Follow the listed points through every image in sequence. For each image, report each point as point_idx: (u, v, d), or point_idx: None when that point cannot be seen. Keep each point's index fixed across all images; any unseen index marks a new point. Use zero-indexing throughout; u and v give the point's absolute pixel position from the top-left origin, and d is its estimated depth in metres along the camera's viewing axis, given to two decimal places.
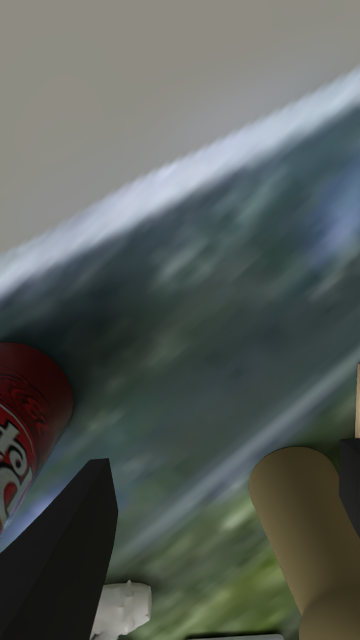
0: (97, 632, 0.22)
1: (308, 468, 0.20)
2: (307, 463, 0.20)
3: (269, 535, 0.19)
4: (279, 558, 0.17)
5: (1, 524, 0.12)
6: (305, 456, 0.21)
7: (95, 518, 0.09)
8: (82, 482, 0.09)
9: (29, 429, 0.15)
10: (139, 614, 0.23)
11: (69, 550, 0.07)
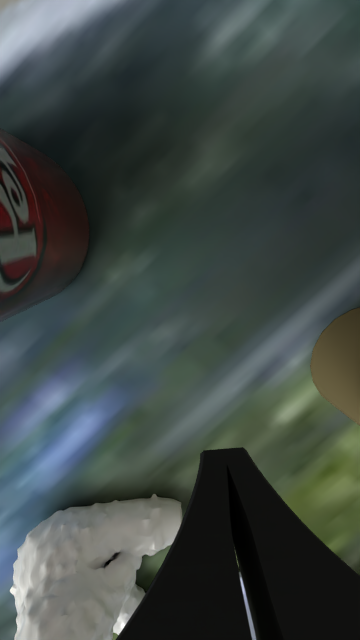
0: (117, 550, 0.17)
1: None
2: None
3: (354, 396, 0.14)
4: None
5: None
6: None
7: None
8: (214, 472, 0.09)
9: (32, 182, 0.10)
10: (169, 529, 0.18)
11: None
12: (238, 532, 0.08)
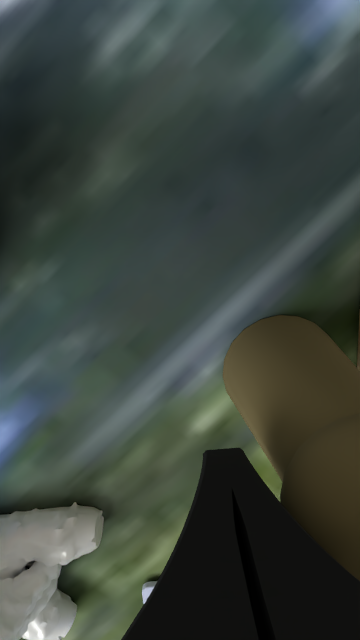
0: (27, 559, 0.17)
1: (299, 329, 0.15)
2: (297, 326, 0.15)
3: (245, 409, 0.14)
4: (257, 428, 0.12)
5: None
6: (295, 321, 0.16)
7: None
8: (218, 471, 0.09)
9: None
10: (82, 538, 0.18)
11: None
12: None
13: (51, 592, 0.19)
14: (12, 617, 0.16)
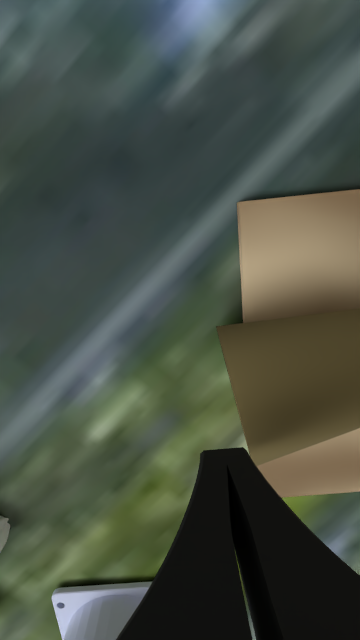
0: None
1: None
2: None
3: (343, 390, 0.11)
4: None
5: None
6: None
7: None
8: (214, 472, 0.09)
9: None
10: None
11: None
12: (238, 532, 0.08)
13: None
14: None
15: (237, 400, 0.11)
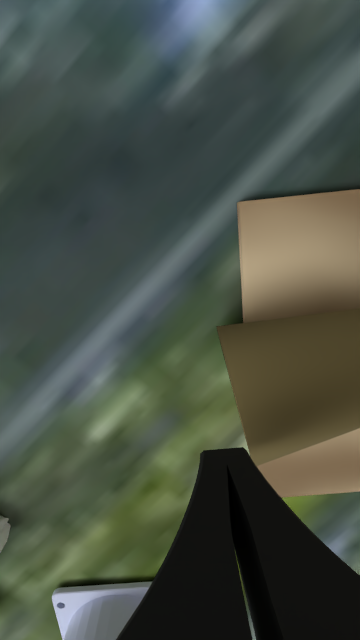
0: None
1: None
2: None
3: (343, 390, 0.11)
4: None
5: None
6: None
7: None
8: (215, 472, 0.09)
9: None
10: None
11: None
12: (238, 532, 0.08)
13: None
14: None
15: (237, 400, 0.11)
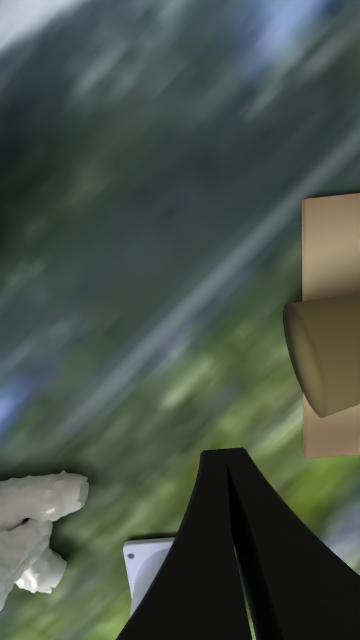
0: (21, 515, 0.20)
1: None
2: None
3: None
4: None
5: None
6: None
7: None
8: (215, 472, 0.09)
9: None
10: (69, 498, 0.21)
11: None
12: (238, 532, 0.08)
13: (43, 547, 0.22)
14: (8, 560, 0.19)
15: (319, 358, 0.14)
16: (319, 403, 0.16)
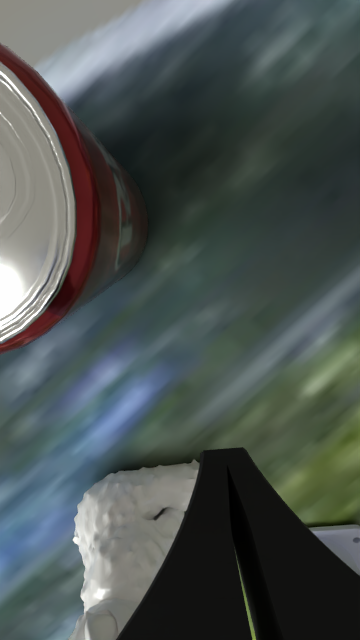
0: (165, 505, 0.20)
1: None
2: None
3: None
4: None
5: (118, 238, 0.10)
6: None
7: None
8: (214, 472, 0.09)
9: (128, 184, 0.12)
10: None
11: None
12: (238, 532, 0.08)
13: None
14: (165, 549, 0.18)
15: None
16: None
